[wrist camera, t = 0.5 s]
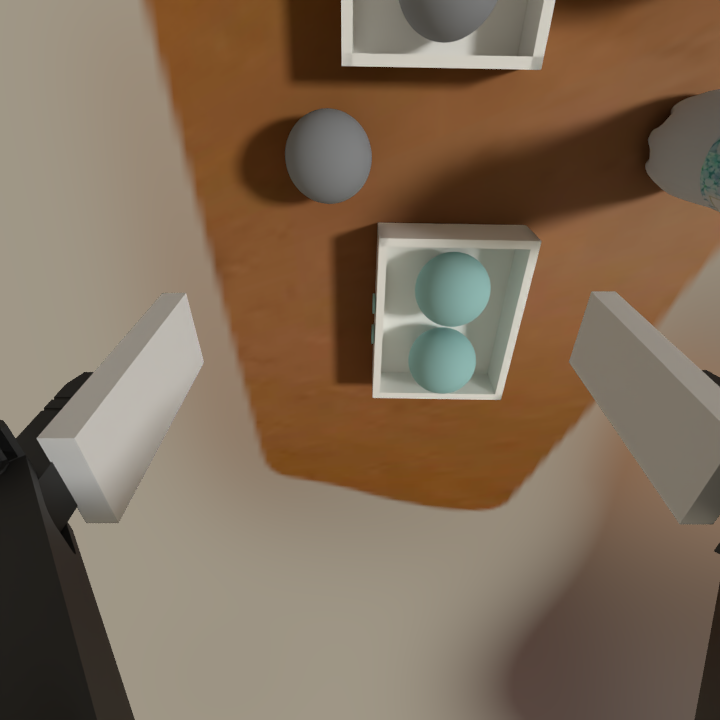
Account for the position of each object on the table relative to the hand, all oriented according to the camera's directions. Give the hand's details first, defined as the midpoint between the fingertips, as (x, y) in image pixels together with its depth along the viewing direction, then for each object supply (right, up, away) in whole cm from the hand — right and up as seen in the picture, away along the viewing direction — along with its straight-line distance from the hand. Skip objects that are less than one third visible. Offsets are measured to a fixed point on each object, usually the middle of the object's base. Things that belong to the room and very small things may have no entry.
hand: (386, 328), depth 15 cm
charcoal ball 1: (-3, +13, +15) cm, 21 cm away
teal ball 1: (+6, +6, +20) cm, 22 cm away
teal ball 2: (+6, 0, +24) cm, 24 cm away
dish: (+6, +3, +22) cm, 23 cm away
